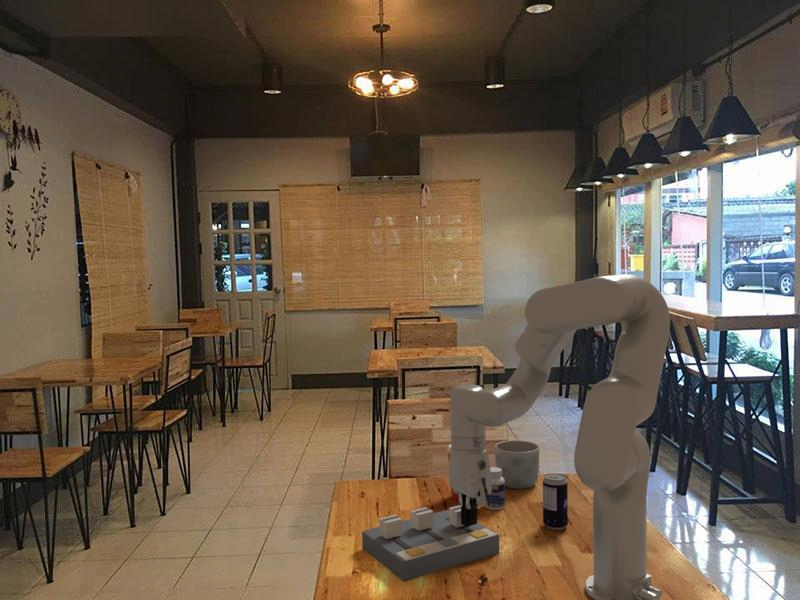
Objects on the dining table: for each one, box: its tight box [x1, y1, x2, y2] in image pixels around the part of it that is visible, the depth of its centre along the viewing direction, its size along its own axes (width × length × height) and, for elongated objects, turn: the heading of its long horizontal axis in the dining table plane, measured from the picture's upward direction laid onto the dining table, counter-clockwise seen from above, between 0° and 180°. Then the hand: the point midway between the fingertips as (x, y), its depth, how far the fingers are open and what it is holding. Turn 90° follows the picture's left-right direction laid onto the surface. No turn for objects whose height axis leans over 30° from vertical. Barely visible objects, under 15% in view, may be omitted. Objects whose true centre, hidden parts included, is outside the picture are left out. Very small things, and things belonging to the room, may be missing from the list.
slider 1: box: [378, 514, 403, 539], centre depth 145 cm, size 3×4×4 cm
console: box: [361, 509, 500, 582], centre depth 147 cm, size 18×24×4 cm
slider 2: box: [410, 506, 434, 531], centre depth 149 cm, size 3×4×4 cm
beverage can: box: [542, 473, 569, 531], centre depth 159 cm, size 6×6×12 cm
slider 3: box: [448, 504, 464, 527], centre depth 151 cm, size 3×4×4 cm
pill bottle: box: [483, 466, 506, 511], centre depth 172 cm, size 5×5×10 cm
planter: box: [494, 439, 540, 490], centre depth 189 cm, size 12×12×11 cm
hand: (469, 524), depth 148 cm, fingers closed
